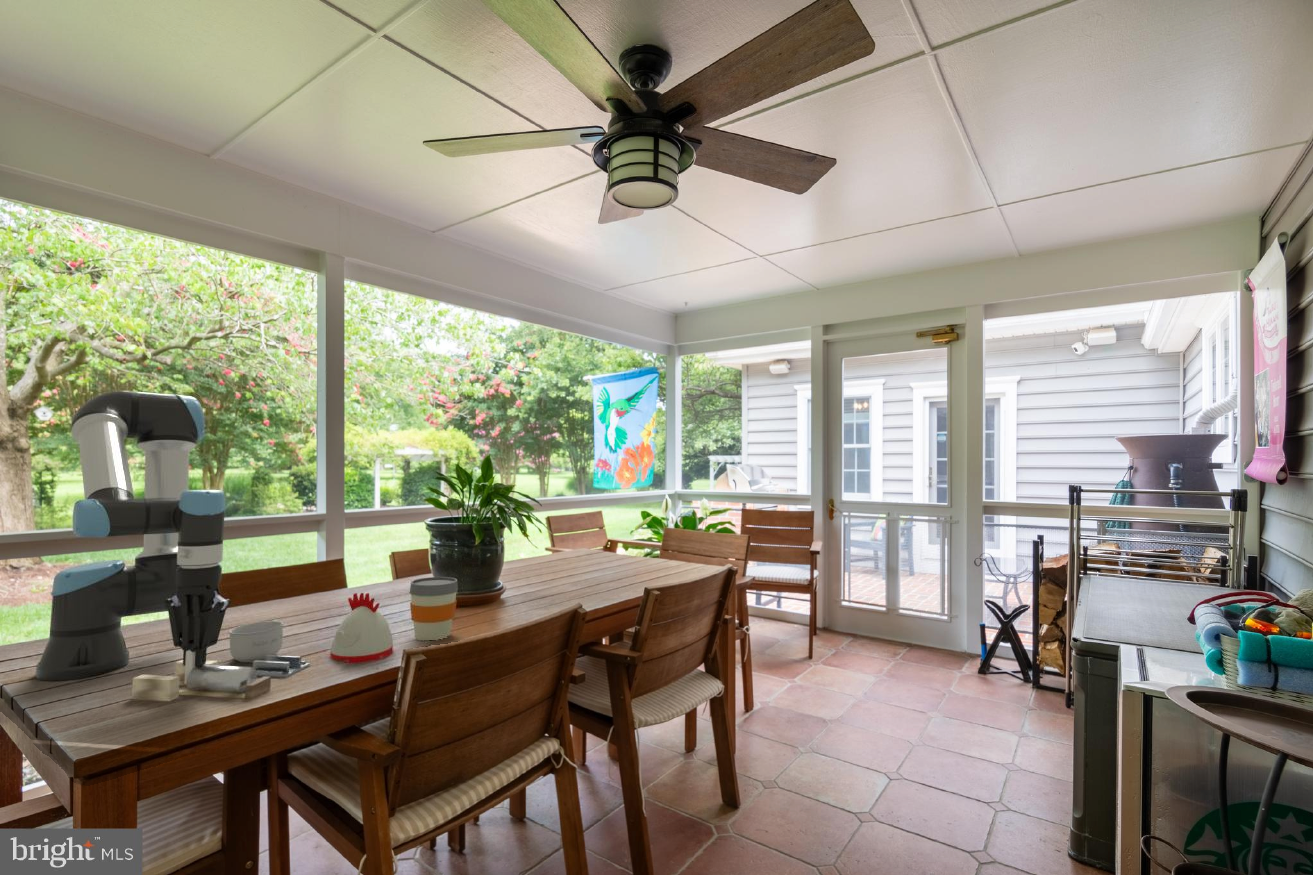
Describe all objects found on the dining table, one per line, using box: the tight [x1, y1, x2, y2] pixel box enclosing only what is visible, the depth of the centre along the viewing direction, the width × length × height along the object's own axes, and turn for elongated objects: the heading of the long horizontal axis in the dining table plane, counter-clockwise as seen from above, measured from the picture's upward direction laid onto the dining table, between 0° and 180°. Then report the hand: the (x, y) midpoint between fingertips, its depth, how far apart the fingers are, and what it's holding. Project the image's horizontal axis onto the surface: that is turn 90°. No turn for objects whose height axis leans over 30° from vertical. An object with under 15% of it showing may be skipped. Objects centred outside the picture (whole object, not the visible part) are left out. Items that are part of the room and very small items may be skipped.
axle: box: [186, 664, 258, 693], centre depth 122 cm, size 11×5×5 cm, turn 85°
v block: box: [252, 654, 311, 679], centre depth 135 cm, size 10×8×3 cm
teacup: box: [228, 619, 284, 663], centre depth 145 cm, size 14×11×8 cm
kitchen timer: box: [329, 592, 394, 664], centre depth 149 cm, size 14×14×15 cm
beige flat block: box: [131, 659, 272, 702], centre depth 122 cm, size 22×12×4 cm, turn 85°
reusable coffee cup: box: [409, 576, 459, 642], centre depth 165 cm, size 13×13×15 cm
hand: (193, 681), depth 123 cm, fingers closed
